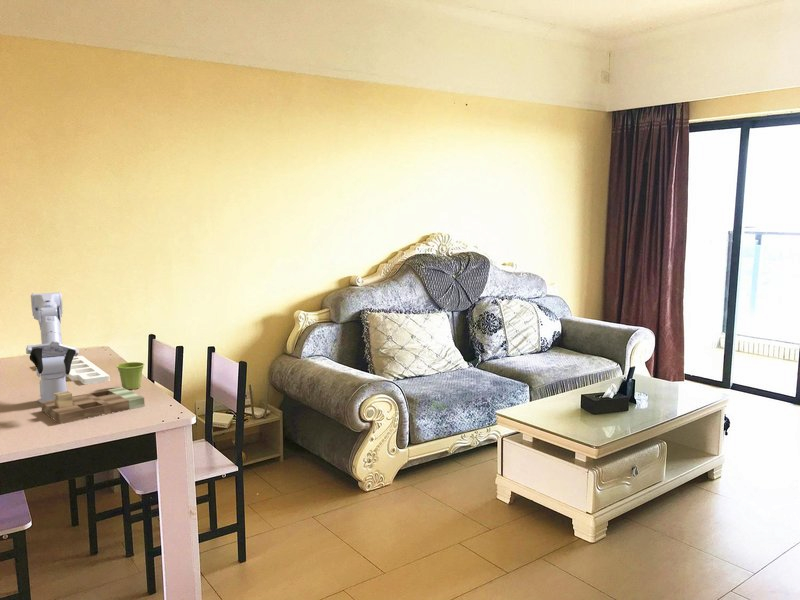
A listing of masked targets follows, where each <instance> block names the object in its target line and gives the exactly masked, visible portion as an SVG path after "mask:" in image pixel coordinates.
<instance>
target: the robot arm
mask: <svg viewBox="0 0 800 600" xmlns="http://www.w3.org/2000/svg"><path fill="white" fill-rule="evenodd" d="M30 302H31V305H30V306H31V312H32V317H33V319H34V320H36V321H38V325H39V330H40V340H41V343H39V344H34V345H33V344H32V345H30V344H28V345H27V346H26V348H25V354H26V355H29V361H31V362H32V364H34V366H35V367H36V368H35V371H36V376H37V377H38V378H40V380H39V392H40V397H39V399H37V402H38V403H40V404H41V402H45V401H51V400H55V399H54V393H58V392H64V391H67V382H66V381H67V380H66V378H67V377H65V376H66V375H68V374H69V373H70V368H71V363H72V360H73V357H75V356H76V357H77V356H79V347H78V348H77V347H72V346H68V345H66V344H65V345H64V344H63V338H62V330H61V328H62V327H61V323H62V318H63V295H62V293H61V292H60V291H58V292H48V293H47V292H43V293H41V292H40V293H34V292H33V293H31V295H30Z"/></svg>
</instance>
